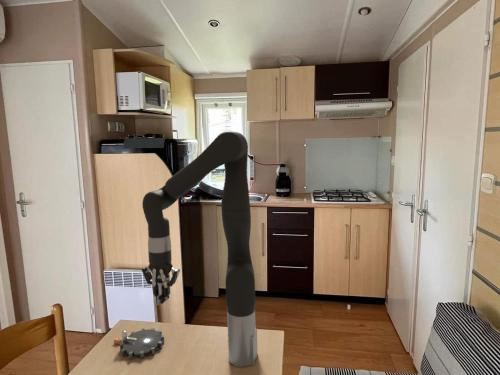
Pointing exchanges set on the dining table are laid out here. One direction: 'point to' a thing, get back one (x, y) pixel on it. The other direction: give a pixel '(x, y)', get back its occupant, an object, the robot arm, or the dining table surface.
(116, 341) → the pointer block
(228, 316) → the robot arm
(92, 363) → the dining table surface
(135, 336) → the sprocket wheel
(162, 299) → the push button
